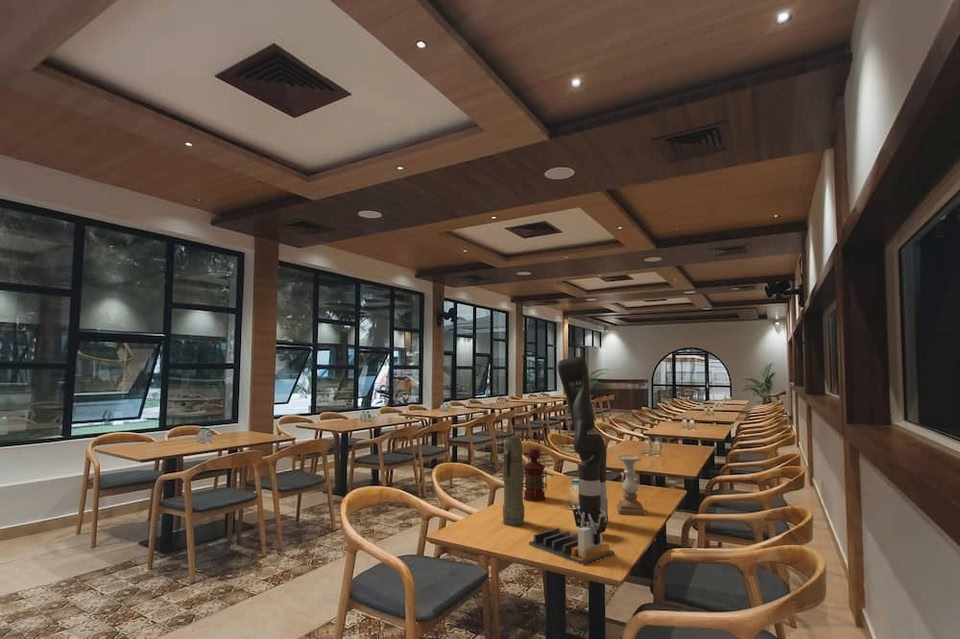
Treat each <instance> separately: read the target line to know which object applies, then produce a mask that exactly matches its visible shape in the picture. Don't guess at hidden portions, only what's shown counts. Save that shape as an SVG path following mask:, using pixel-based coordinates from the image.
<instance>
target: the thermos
mask: <svg viewBox="0 0 960 639" xmlns="http://www.w3.org/2000/svg"><path fill="white" fill-rule="evenodd" d="M523 465H524V463H523V443H522V439H521V438H520V437H518V436H507V438H505V440H504V444H503V464H502V481H503V504H502V517H503V518H502V519H503V520H502V523H503V525H506V526H510V527H518V526H522V524H523V525H524V523H525V505H524V490H523V489H524V487H523V483H524V481H525V477H524V475H525V474H524V471H525V470H524V466H523Z"/></svg>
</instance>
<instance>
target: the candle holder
mask: <svg viewBox="0 0 960 639" xmlns="http://www.w3.org/2000/svg"><path fill="white" fill-rule="evenodd" d="M617 459H618V461H623V464H624V465H625V468H624V469H623V473H624V475H625V479H624V481H623V482H622V484H621V490H622V491H623V492H624V493H623V494H622V496H623V499H622V500H619V502H618V503H617V504H616V506H617V512H618V514H619V515H621V516H622V515H624V516H645V514H646V513H645V509H644V506H643V505H642V502H641V501H639V500H638V494H637V492H638V491H639V485H638V483H637V482H636V480H635V477H634V476H635V474H636V473H637V472H636V470H635V465H636V462H640V461H642V457H640V456H638V455H628V454H627V455H626V454H625V455H618V456H617Z"/></svg>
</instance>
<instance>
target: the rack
mask: <svg viewBox="0 0 960 639" xmlns="http://www.w3.org/2000/svg"><path fill="white" fill-rule="evenodd" d="M560 530H561V528H559V527H554V528H553V529H549V530H545V531H542V532H539V533H536V534H533V540H531V541H529V542H528V545H529V546H530V545H531V547H532V548H533V547H534V548H536V549H538V550H539V549H540V550H541V549H542V551H544V550H545V551H544V552H547V551H548V552H547V553H549V552H550V554H552V553H553V554H552V555H555V556H557V555H558V556H557V557H560V556H561V557H560V558H563V557H564V558H563V559H565V558H566V560H568V559H569V560H568V561H571V560H572V561H571V562H573V561H575V562H574V563H576V562H578V563H577V564H579V563H580V564H579V565H581V564H583V565H582V566H584V565H586V566H588V565H587V564H589V565H591V564H593V563H592V562H594V563H596V562H598V561H597V560H599V561H601V560H604V559H606V558H605V557H607V558H609V557H612V556H613V555H615V554H616V553H615V551H614V550H611V549H610V544H609V543H604V544H602V546H599V547H596V548H593V549H591V550H588V551H585V552H583V558H582V557H579V556H578V533H573V534H571V532H570V530H567V531H563V532H560ZM570 534H571V535H570ZM611 555H612V556H611ZM608 556H609V557H608ZM603 558H604V559H603ZM600 559H601V560H600ZM595 561H596V562H595ZM590 563H591V564H590Z"/></svg>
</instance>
